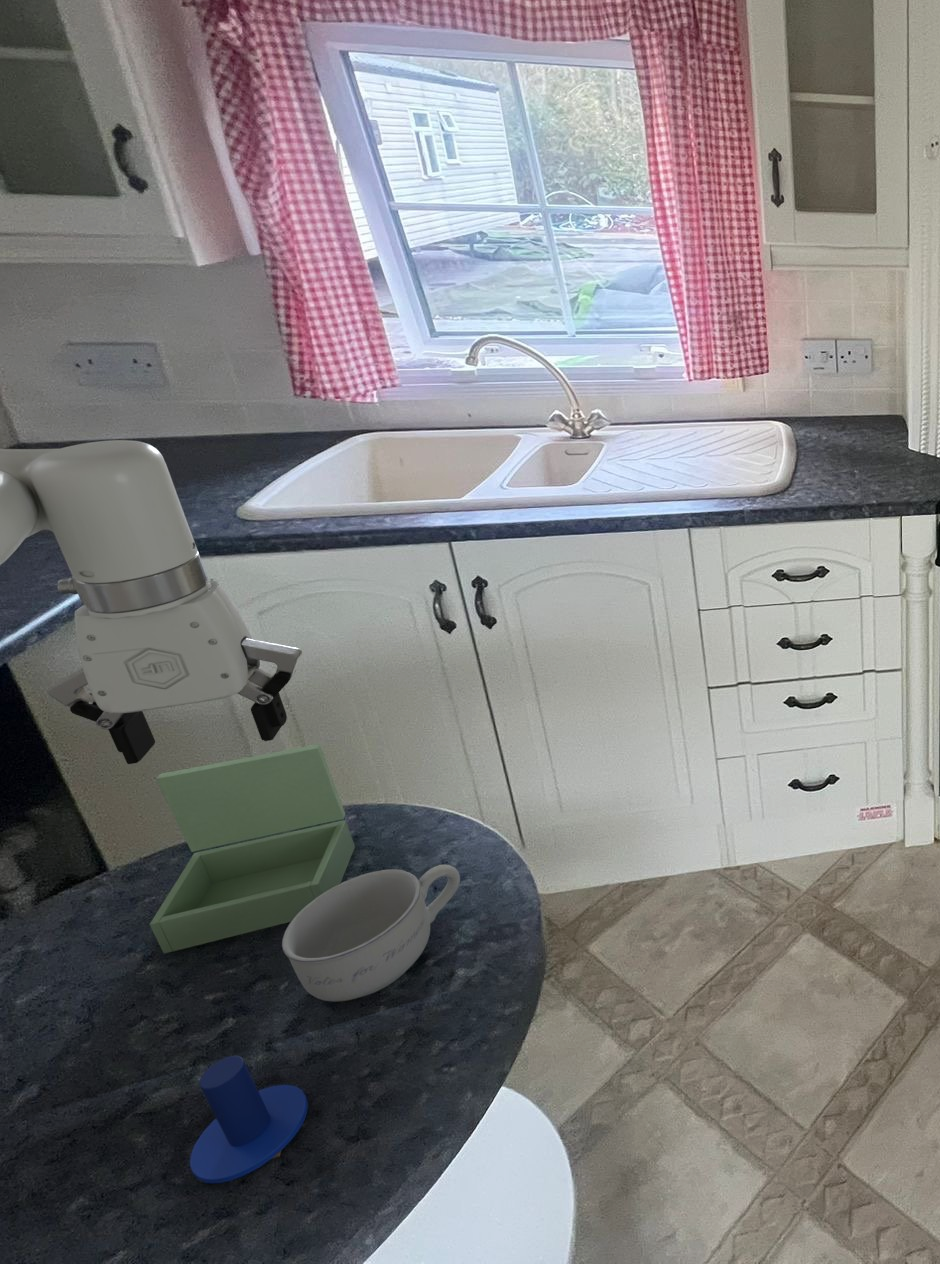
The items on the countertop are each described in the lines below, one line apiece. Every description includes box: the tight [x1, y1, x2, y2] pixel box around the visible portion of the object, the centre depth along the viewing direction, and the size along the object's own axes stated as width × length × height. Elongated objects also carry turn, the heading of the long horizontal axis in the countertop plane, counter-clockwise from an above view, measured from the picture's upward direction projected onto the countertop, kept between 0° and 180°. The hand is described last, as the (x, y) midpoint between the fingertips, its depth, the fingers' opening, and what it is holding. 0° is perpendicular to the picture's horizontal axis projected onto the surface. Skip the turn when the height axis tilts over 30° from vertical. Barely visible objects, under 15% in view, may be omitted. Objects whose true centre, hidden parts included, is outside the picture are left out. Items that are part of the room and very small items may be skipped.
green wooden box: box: [149, 819, 356, 954], centre depth 88 cm, size 10×13×5 cm
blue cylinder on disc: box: [189, 1055, 309, 1184], centre depth 66 cm, size 7×7×8 cm
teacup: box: [281, 864, 461, 1002], centre depth 82 cm, size 14×11×8 cm
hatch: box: [156, 743, 346, 853], centre depth 89 cm, size 10×13×1 cm
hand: (209, 742), depth 77 cm, fingers open, 9 cm apart
